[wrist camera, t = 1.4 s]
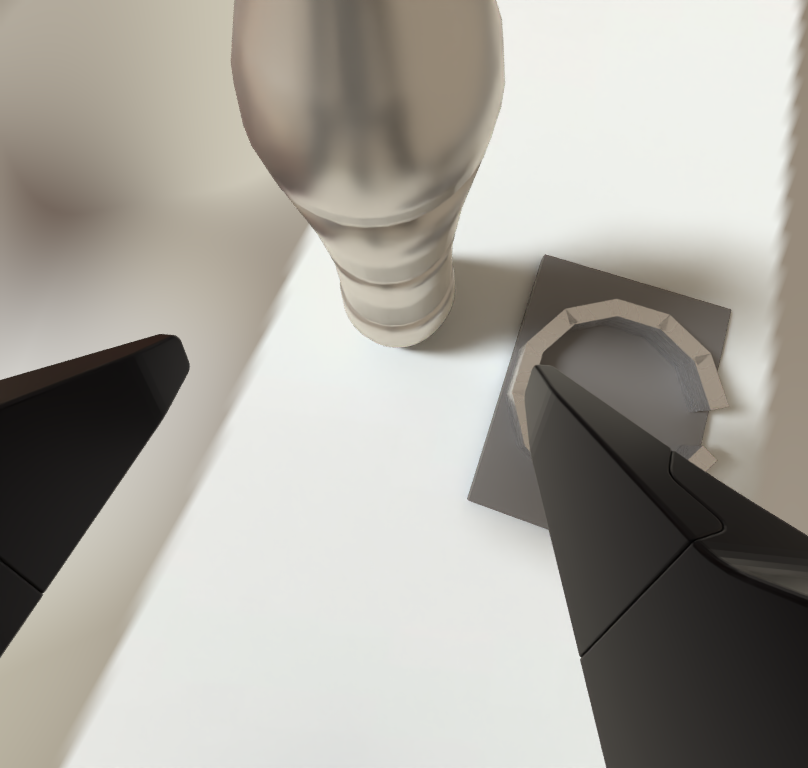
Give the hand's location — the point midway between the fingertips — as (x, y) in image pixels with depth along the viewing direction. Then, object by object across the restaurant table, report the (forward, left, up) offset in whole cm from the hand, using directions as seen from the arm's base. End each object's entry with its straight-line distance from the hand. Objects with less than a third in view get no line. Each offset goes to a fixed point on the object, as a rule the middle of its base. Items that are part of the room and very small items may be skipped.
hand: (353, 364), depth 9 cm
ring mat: (+5, -12, -13) cm, 18 cm away
